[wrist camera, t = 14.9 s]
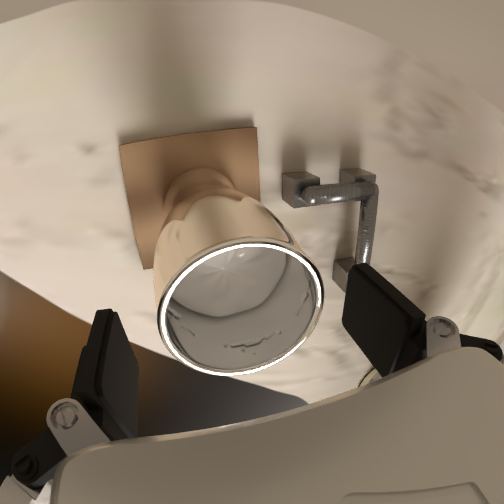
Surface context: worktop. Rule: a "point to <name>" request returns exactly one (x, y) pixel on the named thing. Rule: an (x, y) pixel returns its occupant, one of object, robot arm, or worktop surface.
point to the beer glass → (230, 279)
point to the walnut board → (175, 163)
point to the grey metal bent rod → (348, 189)
